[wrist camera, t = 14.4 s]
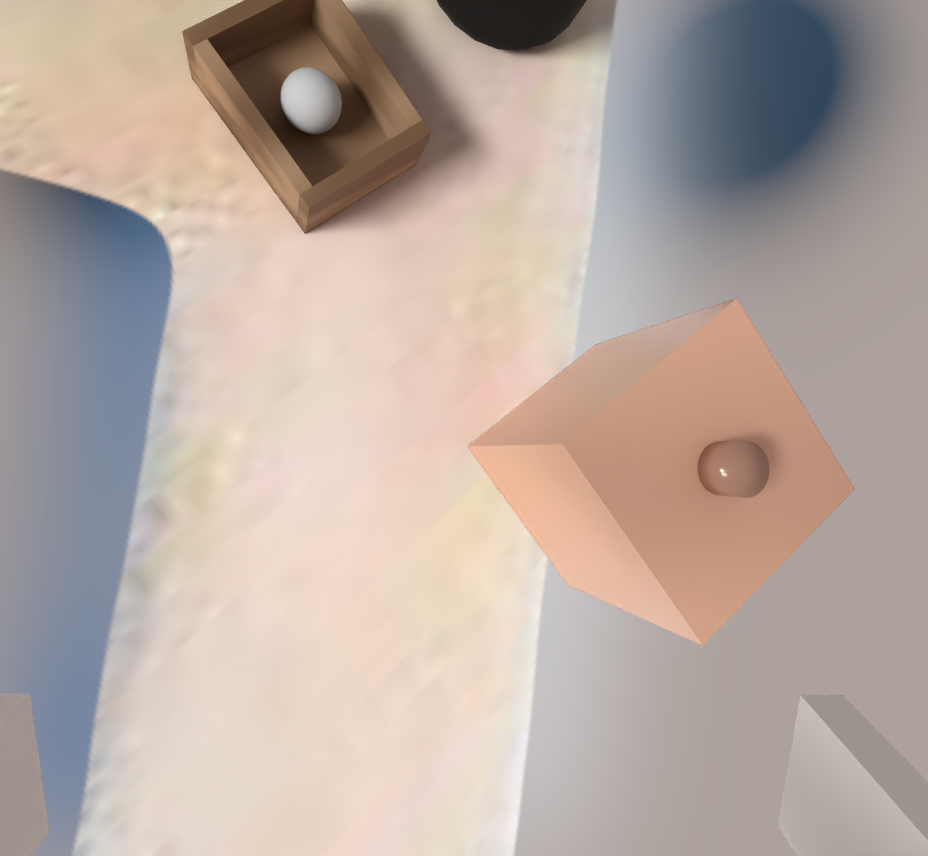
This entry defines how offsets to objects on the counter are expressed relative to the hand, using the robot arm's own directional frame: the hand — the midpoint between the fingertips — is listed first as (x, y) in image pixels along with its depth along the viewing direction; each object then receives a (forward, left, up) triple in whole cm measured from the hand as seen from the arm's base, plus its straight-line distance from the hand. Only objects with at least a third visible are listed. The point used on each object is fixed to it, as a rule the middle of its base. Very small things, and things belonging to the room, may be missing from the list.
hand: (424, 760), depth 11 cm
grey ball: (-20, +14, -23) cm, 33 cm away
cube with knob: (+6, +16, -26) cm, 31 cm away
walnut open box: (-20, +14, -26) cm, 35 cm away
